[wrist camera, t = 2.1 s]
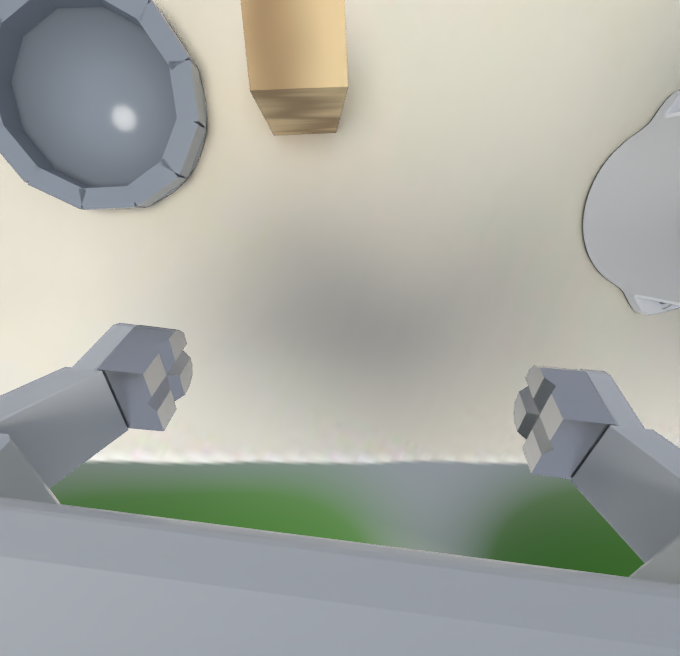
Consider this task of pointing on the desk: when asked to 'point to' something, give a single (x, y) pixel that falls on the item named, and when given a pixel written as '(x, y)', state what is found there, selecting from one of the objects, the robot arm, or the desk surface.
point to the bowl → (98, 101)
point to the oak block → (297, 62)
